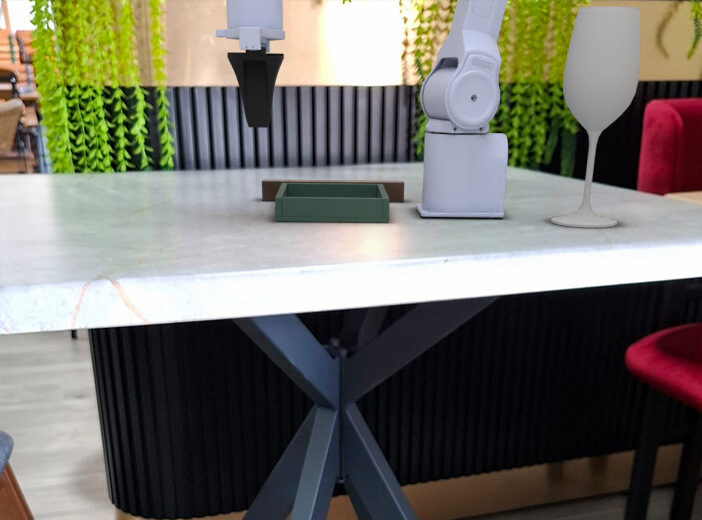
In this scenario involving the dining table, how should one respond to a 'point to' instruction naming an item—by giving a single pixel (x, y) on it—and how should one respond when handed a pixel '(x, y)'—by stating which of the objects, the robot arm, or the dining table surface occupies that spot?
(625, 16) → the wineglass
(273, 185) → the bar
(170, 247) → the dining table surface
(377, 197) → the tray
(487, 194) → the robot arm
